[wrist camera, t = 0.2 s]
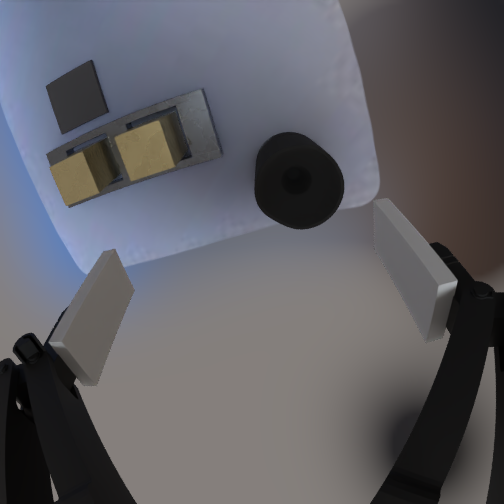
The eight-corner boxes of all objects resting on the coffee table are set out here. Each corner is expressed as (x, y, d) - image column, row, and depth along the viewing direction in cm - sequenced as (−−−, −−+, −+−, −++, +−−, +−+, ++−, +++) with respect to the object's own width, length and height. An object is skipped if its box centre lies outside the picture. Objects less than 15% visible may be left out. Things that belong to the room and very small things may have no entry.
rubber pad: (47, 85, 33) (45, 86, 33) (92, 60, 32) (90, 60, 32) (64, 133, 37) (62, 134, 37) (108, 111, 36) (106, 112, 36)
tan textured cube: (78, 150, 39) (49, 167, 32) (108, 136, 38) (82, 151, 31) (91, 183, 42) (66, 206, 35) (122, 171, 41) (99, 193, 34)
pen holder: (314, 120, 38) (334, 135, 29) (330, 186, 43) (350, 217, 34) (244, 140, 39) (242, 160, 31) (265, 203, 44) (269, 239, 35)
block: (137, 124, 38) (114, 137, 31) (175, 110, 37) (158, 119, 30) (150, 161, 40) (131, 181, 34) (188, 149, 40) (175, 167, 33)
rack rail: (52, 150, 38) (46, 154, 37) (203, 88, 35) (200, 88, 34) (74, 202, 43) (69, 208, 41) (223, 153, 40) (221, 157, 38)
